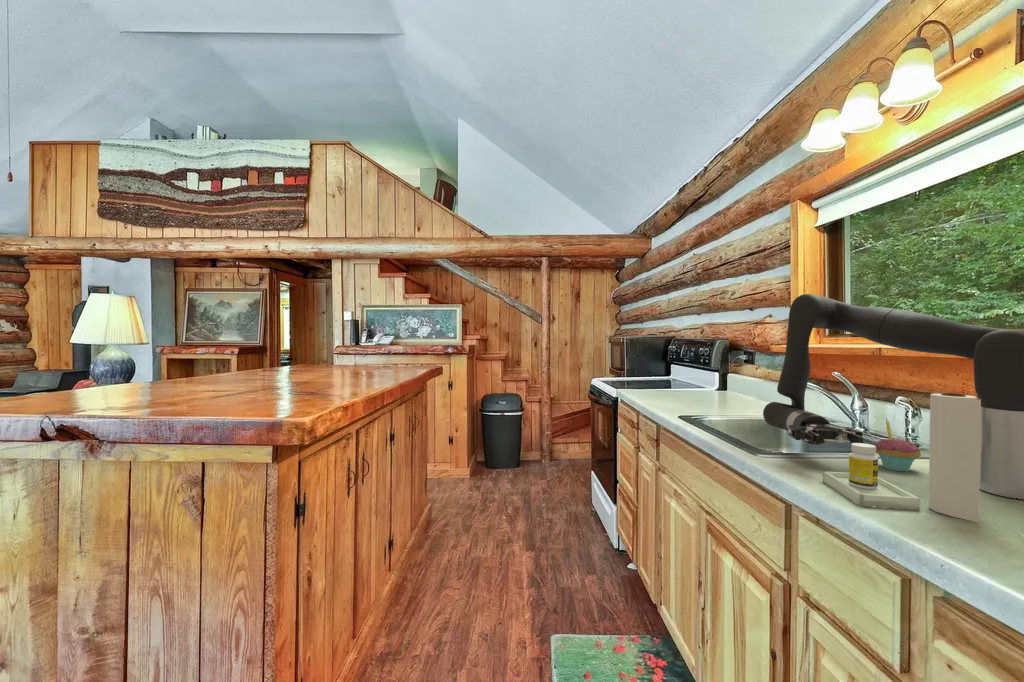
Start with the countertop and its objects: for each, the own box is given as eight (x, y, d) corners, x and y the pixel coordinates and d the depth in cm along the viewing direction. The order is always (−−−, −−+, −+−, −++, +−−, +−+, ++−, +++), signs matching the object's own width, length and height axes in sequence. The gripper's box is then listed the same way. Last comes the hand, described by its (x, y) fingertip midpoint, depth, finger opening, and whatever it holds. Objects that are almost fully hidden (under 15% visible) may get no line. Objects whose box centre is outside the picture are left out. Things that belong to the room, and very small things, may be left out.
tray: (873, 484, 98) (873, 474, 98) (919, 510, 83) (919, 498, 83) (822, 481, 100) (823, 471, 100) (859, 506, 85) (860, 494, 85)
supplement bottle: (878, 491, 90) (878, 449, 89) (848, 486, 92) (848, 445, 92) (877, 485, 93) (877, 444, 93) (848, 480, 96) (849, 441, 96)
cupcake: (878, 470, 108) (878, 420, 108) (870, 461, 116) (870, 414, 115) (925, 475, 104) (926, 423, 104) (913, 466, 112) (914, 417, 111)
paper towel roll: (927, 503, 87) (929, 391, 86) (972, 511, 83) (974, 394, 82) (930, 515, 81) (932, 395, 81) (978, 524, 77) (980, 398, 77)
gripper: (778, 411, 120) (804, 422, 104) (838, 413, 117) (875, 425, 101) (777, 439, 120) (803, 455, 104) (838, 442, 117) (874, 459, 101)
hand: (838, 440), depth 103 cm, fingers open, 8 cm apart
